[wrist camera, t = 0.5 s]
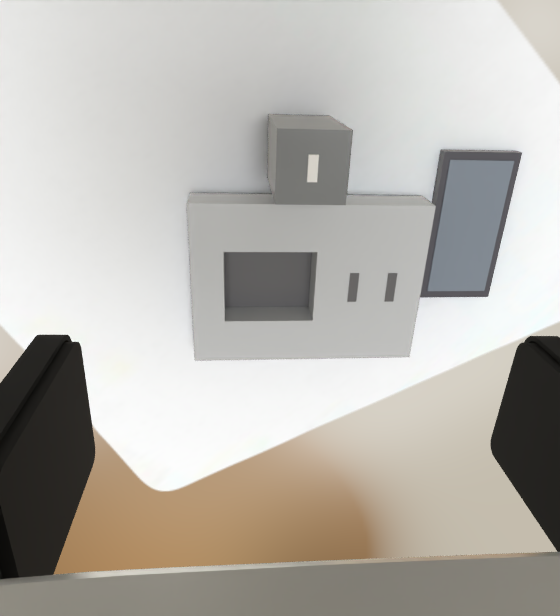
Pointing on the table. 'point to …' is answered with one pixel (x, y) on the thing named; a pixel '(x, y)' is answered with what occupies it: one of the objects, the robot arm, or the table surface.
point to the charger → (308, 159)
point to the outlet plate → (305, 276)
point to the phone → (468, 221)
